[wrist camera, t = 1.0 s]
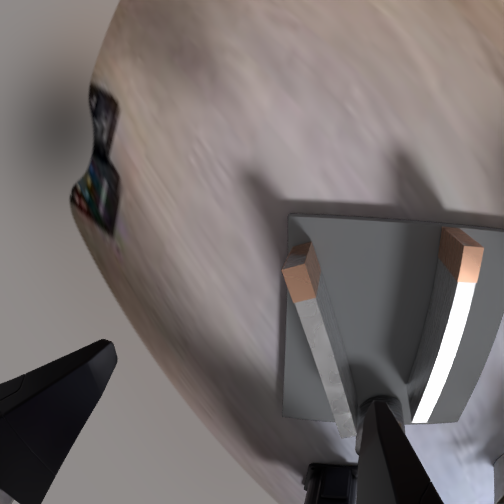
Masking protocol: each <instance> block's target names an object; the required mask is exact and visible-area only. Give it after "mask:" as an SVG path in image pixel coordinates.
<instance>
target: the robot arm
mask: <svg viewBox="0 0 504 504" xmlns="http://www.w3.org/2000/svg"><path fill="white" fill-rule="evenodd" d="M116 364H117V355H116V351H115V347H114V344H113V343H112V342H111V341H108V340H106V339H101V340H99V341H96V342H94V343H92V344H90V345H88V346H85V347H83V348H81V349H79V350H77V351H75V352H72V353H70V354H68V355H66V356H64V357H61V358H59V359H57V360H55V361H52V362H50V363H48V364H46V365H44V366H41V367H39V368H37V369H35V370H32V371H30V372H28V373H26V375H25V374H23V375H21V376H19V377H17V378H14V379H12V380H9V381H7V382H4V383H1V384H0V504H12V502H13V501H14V500H16V501H17V502H18V503H20V504H41V503H42V501H43V499H44V497H45V495H46V493H47V491H48V490H49V488H50V485H51V484H52V482H53V480H54V478H55V475H56V474H57V473H58V470H59V469H60V467H61V465H62V463H63V462H64V460H65V458H66V456H67V454H68V453H69V451H70V449H71V447H72V445H73V444H74V442H75V440H76V438H77V437H78V435H79V433H80V431H81V430H82V428H83V426H84V425H85V423H86V421H87V419H88V418H89V416H90V415H91V413H92V411H93V409H94V408H95V406H96V404H97V403H98V401H99V399H100V398H101V396H102V394H103V392H104V390H105V388H106V385H107V383H108V381H109V379H110V377H111V374H112V372H113V370H114V368H115V366H116ZM304 490H306V491H307V494H306V498H305V503H304V504H444V503H443V501H442V500H441V498H440V496H439V494H438V493H437V491H436V489H435V487H434V485H433V484H432V482H430V478H429V476H428V475H427V473H426V471H425V469H424V467H423V466H422V464H421V462H420V460H419V458H418V456H417V455H416V453H415V451H414V449H413V448H412V446H411V444H410V442H409V440H408V439H407V437H406V435H405V433H404V432H403V430H402V428H401V426H400V425H399V423H398V421H397V419H396V418H395V416H394V414H393V413H392V411H391V409H390V407H389V406H388V404H387V403H386V402H385V401H380V400H374V401H373V402H372V403H371V405H370V407H369V409H368V411H367V413H366V415H365V418H364V423H363V431H362V439H361V446H360V453H359V460H358V467H355V466H336V465H323V464H310V465H309V468H308V473H307V477H306V482H305V486H304ZM356 495H357V498H356Z"/></svg>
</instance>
